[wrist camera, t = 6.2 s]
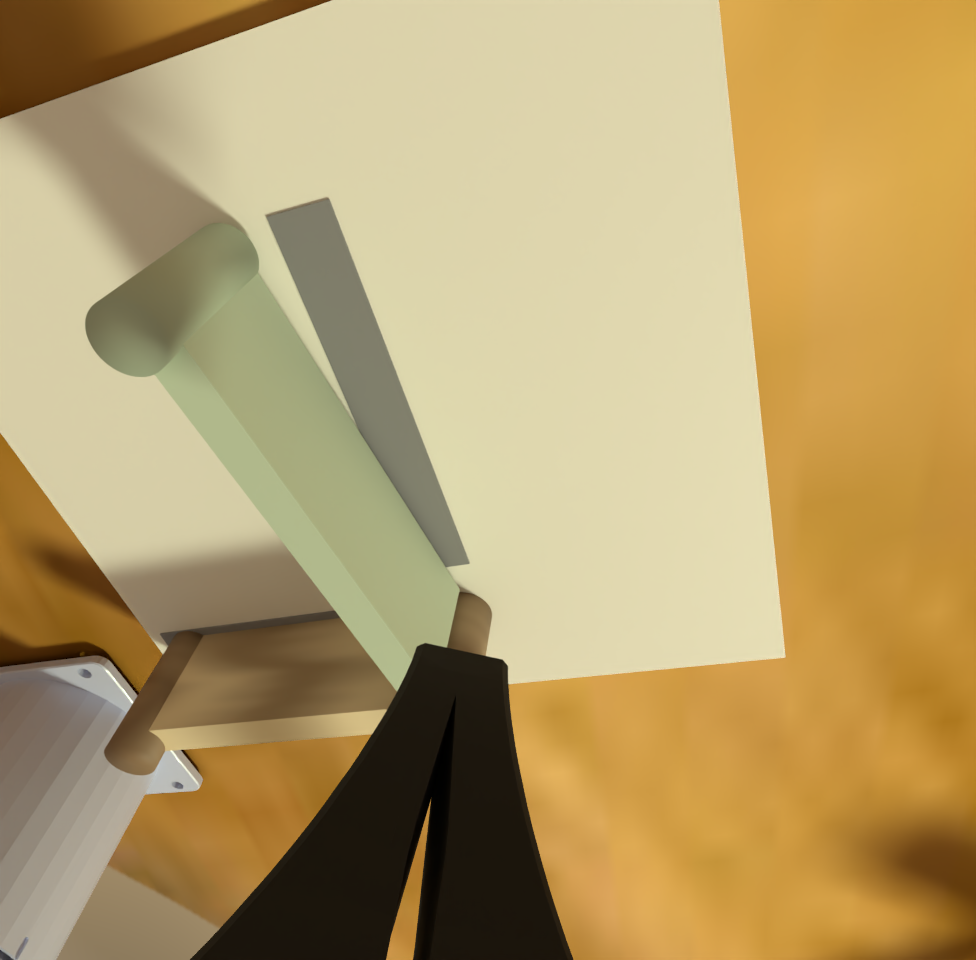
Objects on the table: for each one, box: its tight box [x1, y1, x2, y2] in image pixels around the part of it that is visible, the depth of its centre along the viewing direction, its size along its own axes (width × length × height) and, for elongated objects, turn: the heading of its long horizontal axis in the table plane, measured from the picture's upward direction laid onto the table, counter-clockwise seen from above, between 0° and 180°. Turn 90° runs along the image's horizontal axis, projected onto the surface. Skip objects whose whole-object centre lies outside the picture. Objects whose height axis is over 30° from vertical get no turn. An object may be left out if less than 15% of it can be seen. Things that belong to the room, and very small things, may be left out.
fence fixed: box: [104, 592, 492, 775], centre depth 24 cm, size 12×2×5 cm, turn 106°
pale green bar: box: [85, 223, 460, 691], centre depth 19 cm, size 12×2×5 cm, turn 26°
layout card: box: [0, 0, 785, 684], centre depth 21 cm, size 21×20×1 cm
